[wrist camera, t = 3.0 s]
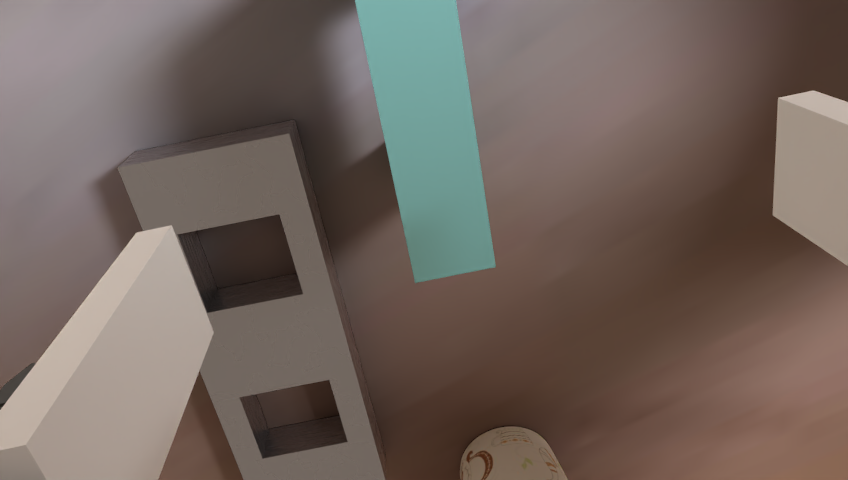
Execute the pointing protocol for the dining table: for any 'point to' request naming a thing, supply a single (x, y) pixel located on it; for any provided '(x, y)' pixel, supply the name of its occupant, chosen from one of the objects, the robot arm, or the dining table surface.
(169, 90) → the dining table surface
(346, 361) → the block
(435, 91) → the panel
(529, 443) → the mug
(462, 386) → the dining table surface
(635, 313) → the dining table surface
